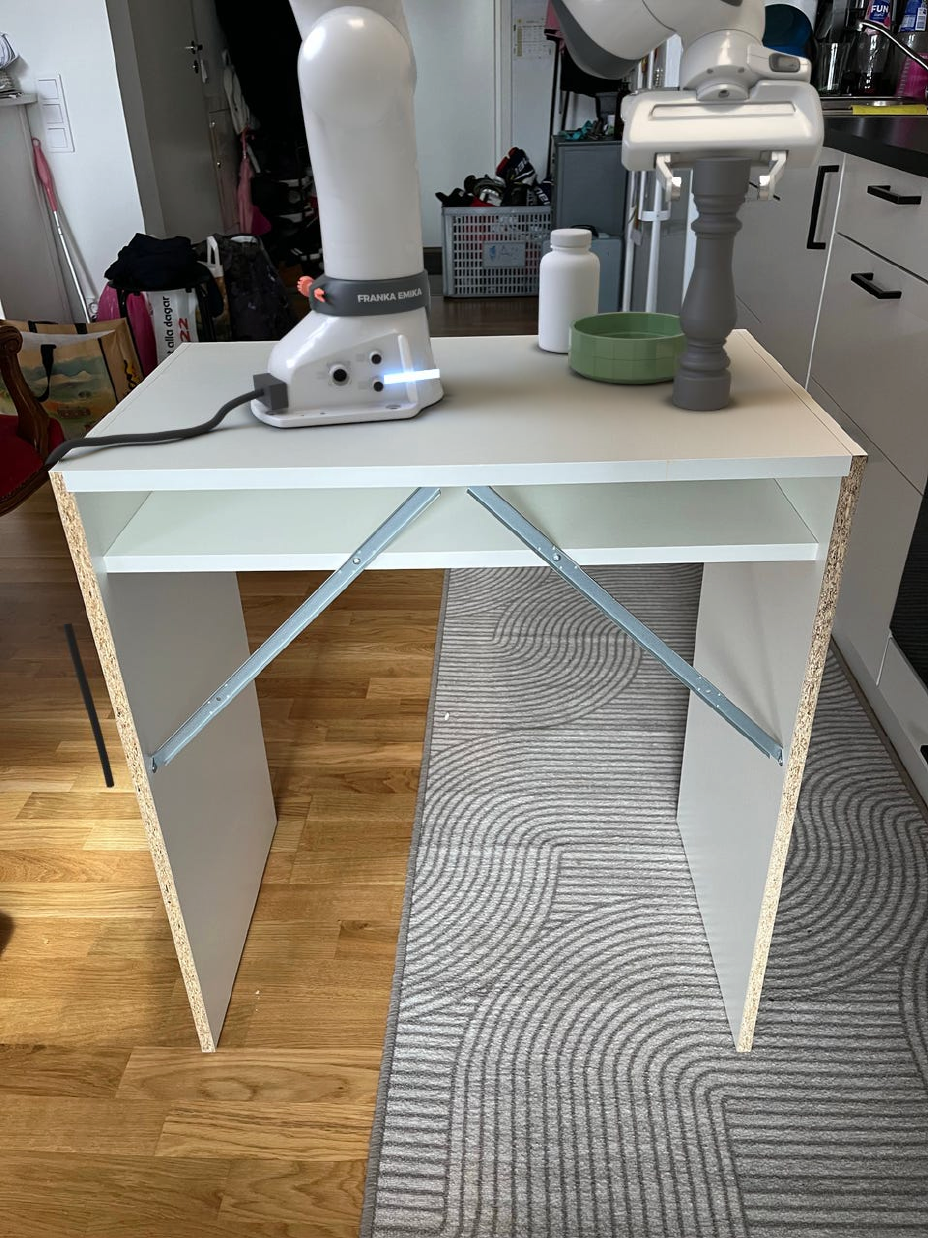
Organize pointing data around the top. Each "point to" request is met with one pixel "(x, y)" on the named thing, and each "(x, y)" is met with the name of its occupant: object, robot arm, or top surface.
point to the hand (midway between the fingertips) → (718, 197)
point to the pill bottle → (566, 286)
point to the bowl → (626, 347)
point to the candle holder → (711, 283)
